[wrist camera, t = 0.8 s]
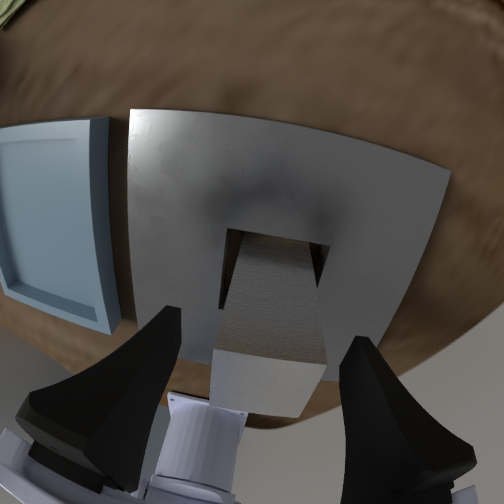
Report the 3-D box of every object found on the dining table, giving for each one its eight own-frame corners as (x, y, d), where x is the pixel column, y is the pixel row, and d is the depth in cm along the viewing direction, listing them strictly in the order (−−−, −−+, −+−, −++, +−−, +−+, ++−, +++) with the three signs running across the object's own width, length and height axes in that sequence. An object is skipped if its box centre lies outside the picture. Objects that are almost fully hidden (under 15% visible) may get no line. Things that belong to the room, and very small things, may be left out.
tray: (121, 318, 21) (111, 335, 19) (16, 283, 21) (4, 294, 19) (109, 116, 14) (89, 119, 12) (-9, 128, 14) (-27, 133, 12)
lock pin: (294, 290, 18) (298, 417, 10) (237, 280, 18) (209, 405, 10) (307, 239, 16) (327, 364, 8) (245, 228, 16) (213, 348, 8)
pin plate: (350, 363, 21) (354, 382, 19) (150, 330, 21) (141, 348, 19) (433, 162, 13) (451, 171, 11) (147, 107, 13) (130, 109, 12)
